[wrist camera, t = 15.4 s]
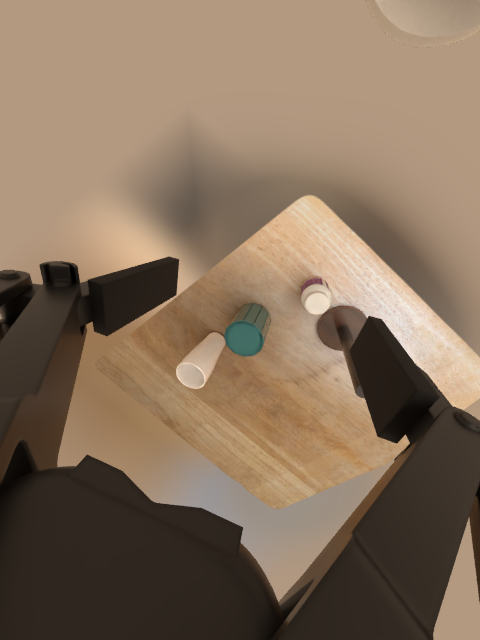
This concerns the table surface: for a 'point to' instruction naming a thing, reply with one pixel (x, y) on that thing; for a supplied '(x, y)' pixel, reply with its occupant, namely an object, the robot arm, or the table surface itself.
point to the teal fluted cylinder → (248, 330)
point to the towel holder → (343, 335)
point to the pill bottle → (315, 295)
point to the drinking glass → (200, 361)
